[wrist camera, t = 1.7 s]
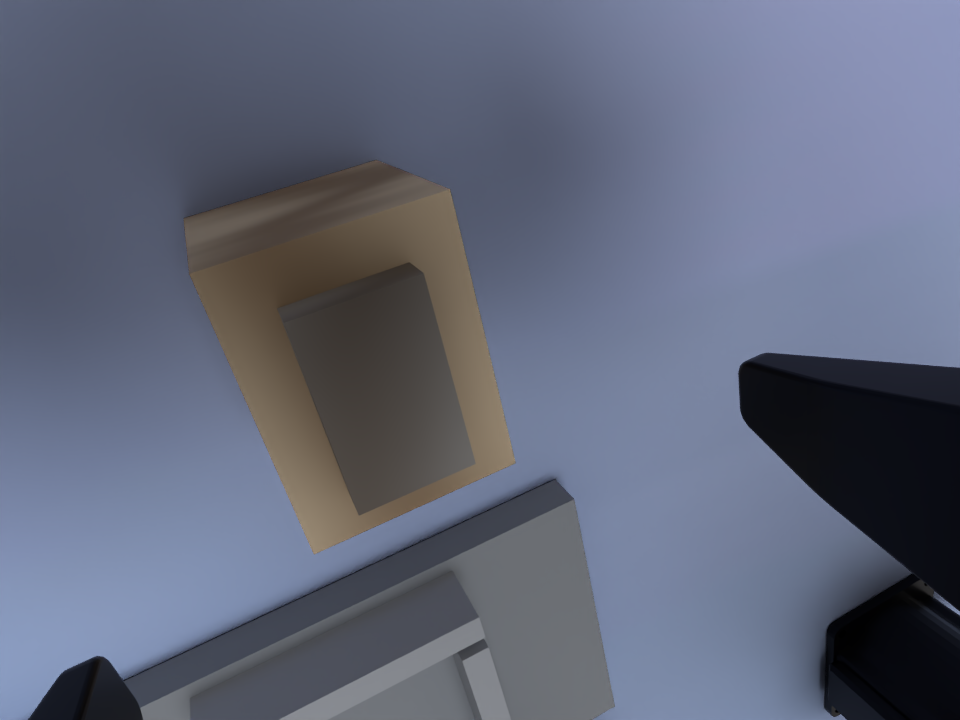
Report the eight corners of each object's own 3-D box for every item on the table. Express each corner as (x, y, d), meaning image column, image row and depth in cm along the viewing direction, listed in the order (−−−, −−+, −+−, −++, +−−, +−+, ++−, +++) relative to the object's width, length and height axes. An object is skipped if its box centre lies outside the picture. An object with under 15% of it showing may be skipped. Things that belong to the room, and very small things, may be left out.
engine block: (375, 159, 16) (467, 196, 11) (437, 375, 19) (532, 481, 14) (183, 217, 15) (190, 287, 10) (278, 439, 18) (322, 579, 13)
